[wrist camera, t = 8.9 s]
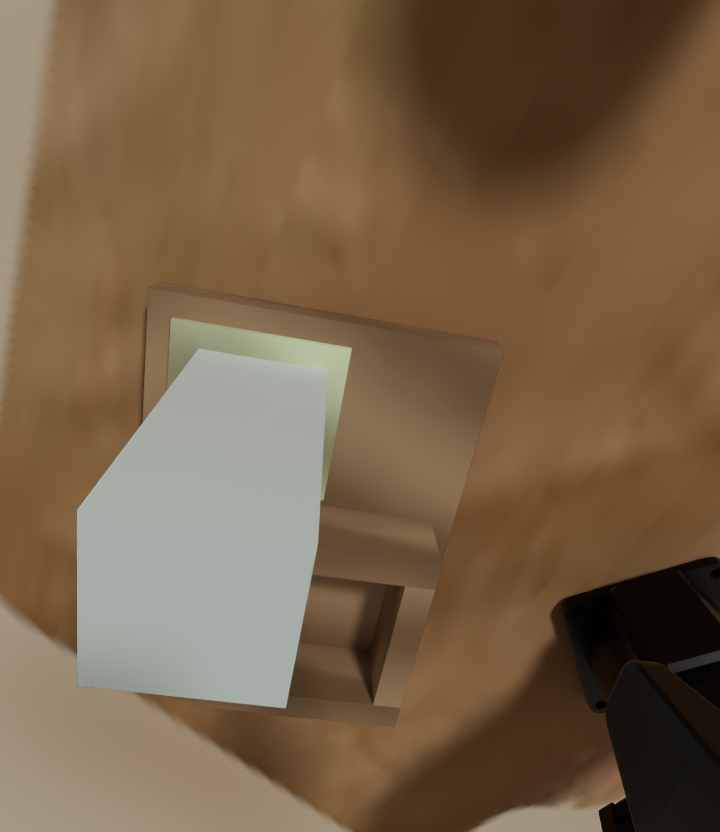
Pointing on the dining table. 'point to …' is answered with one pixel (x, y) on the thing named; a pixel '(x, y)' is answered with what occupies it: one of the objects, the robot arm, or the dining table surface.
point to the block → (206, 537)
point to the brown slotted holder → (353, 477)
